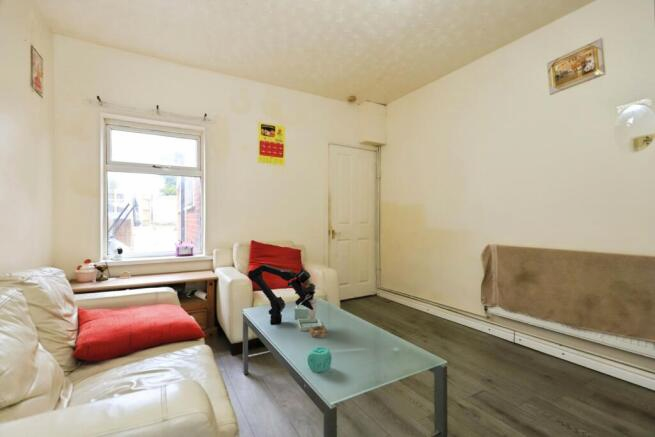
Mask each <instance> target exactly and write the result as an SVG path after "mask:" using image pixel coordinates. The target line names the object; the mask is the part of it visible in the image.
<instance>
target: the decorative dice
mask: <svg viewBox="0 0 655 437" xmlns="http://www.w3.org/2000/svg"><path fill="white" fill-rule="evenodd" d="M332 359H333V358H332V353H331V351H330V350H329V349H328V348H327V347H324V346H315V347H313V348H311V350H309V352H308V354H307V361H306V362H307V365H308V367H309V369H310V370H311V371H312V370H313V371H312V372H314V371H315V372H314V373H318V372H322V373H325V372H327V371H328V370H329V369H330V367H331V365H332Z"/></svg>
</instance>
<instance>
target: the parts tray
mask: <svg viewBox="0 0 655 437" xmlns="http://www.w3.org/2000/svg"><path fill="white" fill-rule="evenodd" d="M296 323H297V326H298V330H299V332H300V331H301V332H302V331H307V332H308V331H310V326H311V325H309V326H301V324H302V323H317V324H318V326H323V324H322V323H321V320H320V319H319V318H316V317H315V319H296Z"/></svg>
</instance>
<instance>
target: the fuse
mask: <svg viewBox="0 0 655 437" xmlns="http://www.w3.org/2000/svg"><path fill="white" fill-rule="evenodd" d="M309 302H310V303H311V305H312V307H313V310H311V309H309V308H308V309H309V315H308V319H315V318H316V310H317V299H315V298H313V299H310V300H309Z"/></svg>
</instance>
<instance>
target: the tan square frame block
mask: <svg viewBox="0 0 655 437" xmlns="http://www.w3.org/2000/svg"><path fill="white" fill-rule="evenodd" d="M309 326H310V330H309V333H310V334H309V335H310V336H311V338H321V337H322V338H325V337H328V331H327V329H326V327H325V325H323V324H322V326H319V325H309Z"/></svg>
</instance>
